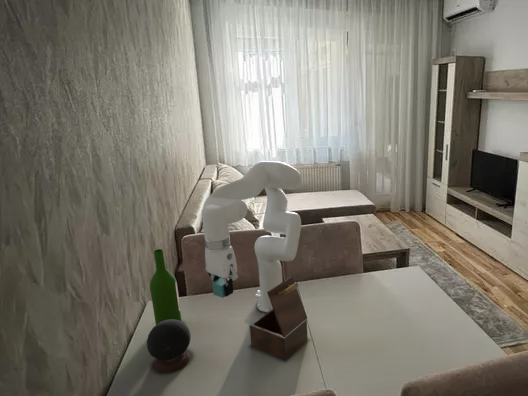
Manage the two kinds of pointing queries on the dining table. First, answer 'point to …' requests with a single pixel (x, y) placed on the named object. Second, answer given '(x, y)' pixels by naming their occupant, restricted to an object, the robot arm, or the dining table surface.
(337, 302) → the dining table surface
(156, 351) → the ball on stand
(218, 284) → the block
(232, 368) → the dining table surface
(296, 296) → the chest lid
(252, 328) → the chest
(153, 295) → the wine bottle
